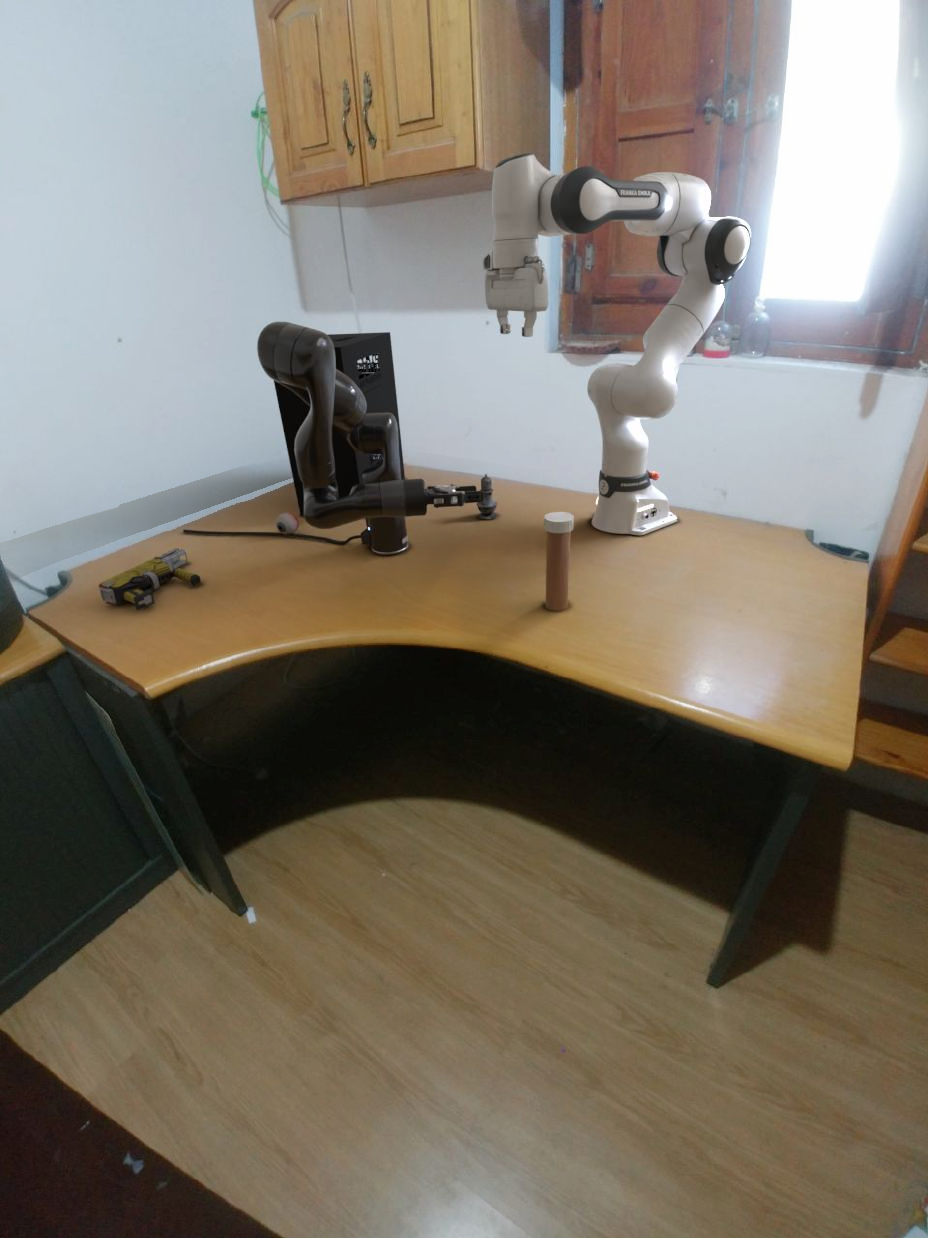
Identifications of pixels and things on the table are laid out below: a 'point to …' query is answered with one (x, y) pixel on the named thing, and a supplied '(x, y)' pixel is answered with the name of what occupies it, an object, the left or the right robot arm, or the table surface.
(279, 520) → the eyeball
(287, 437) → the cardboard box
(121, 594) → the toy gun
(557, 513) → the lid
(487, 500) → the grey stone chess piece
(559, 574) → the tan cylinder
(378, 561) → the table surface
